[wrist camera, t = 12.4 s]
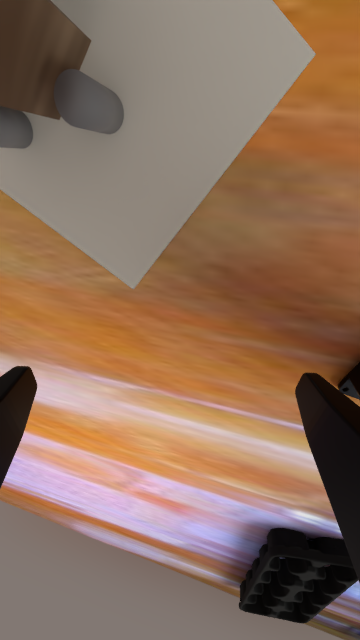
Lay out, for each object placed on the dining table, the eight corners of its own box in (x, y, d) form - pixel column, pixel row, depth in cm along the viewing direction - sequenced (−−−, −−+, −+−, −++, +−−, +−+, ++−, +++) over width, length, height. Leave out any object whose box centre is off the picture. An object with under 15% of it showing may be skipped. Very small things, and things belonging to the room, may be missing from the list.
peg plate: (309, 62, 13) (345, 20, 9) (137, 283, 21) (117, 312, 17) (-161, -508, 8) (-519, -1130, 4) (-158, 58, 16) (-285, 24, 12)
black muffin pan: (359, 529, 36) (372, 565, 33) (332, 601, 51) (339, 631, 47) (229, 518, 40) (229, 549, 36) (239, 588, 54) (239, 615, 51)
